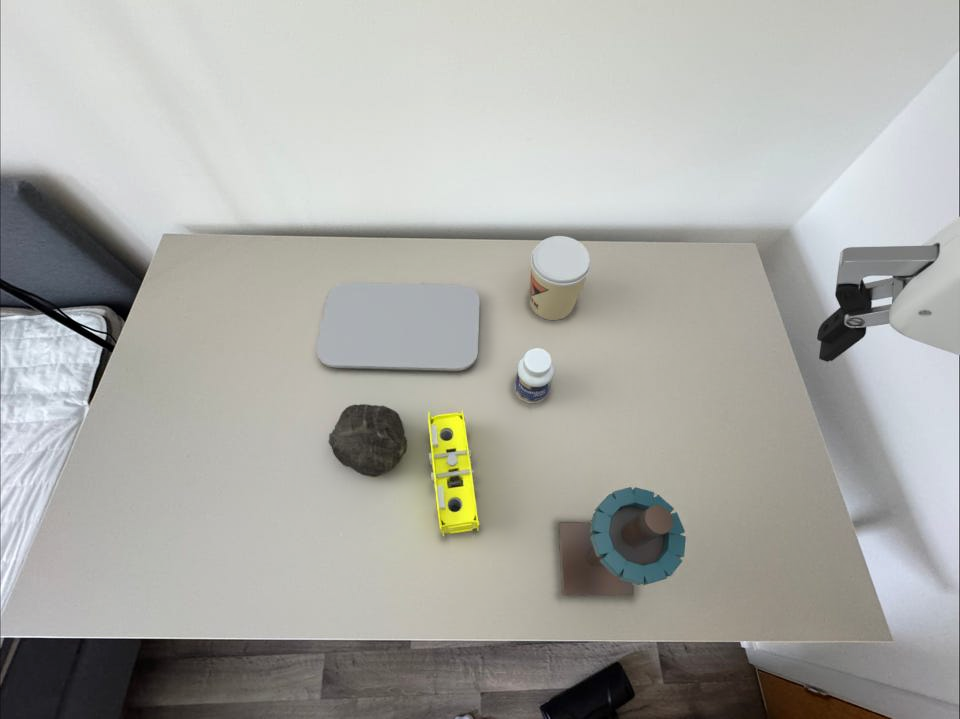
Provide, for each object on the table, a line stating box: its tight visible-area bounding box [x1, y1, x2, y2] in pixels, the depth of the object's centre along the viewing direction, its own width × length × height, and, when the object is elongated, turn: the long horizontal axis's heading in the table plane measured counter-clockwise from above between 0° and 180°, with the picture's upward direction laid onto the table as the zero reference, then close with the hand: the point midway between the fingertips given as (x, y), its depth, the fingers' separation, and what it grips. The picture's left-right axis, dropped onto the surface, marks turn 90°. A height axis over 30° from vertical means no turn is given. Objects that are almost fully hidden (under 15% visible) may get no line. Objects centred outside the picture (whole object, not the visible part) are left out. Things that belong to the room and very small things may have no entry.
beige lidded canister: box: [529, 235, 592, 321], centre depth 82 cm, size 9×9×12 cm
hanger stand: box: [557, 505, 673, 597], centre depth 55 cm, size 9×9×28 cm
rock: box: [328, 403, 408, 478], centre depth 71 cm, size 10×11×10 cm
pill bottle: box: [514, 347, 555, 404], centre depth 75 cm, size 5×5×10 cm
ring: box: [590, 486, 687, 586], centre depth 49 cm, size 9×9×2 cm
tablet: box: [315, 281, 481, 372], centre depth 84 cm, size 16×26×2 cm, turn 88°
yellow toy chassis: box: [427, 409, 481, 537], centre depth 69 cm, size 16×6×8 cm, turn 8°
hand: (896, 368), depth 36 cm, fingers open, 9 cm apart
